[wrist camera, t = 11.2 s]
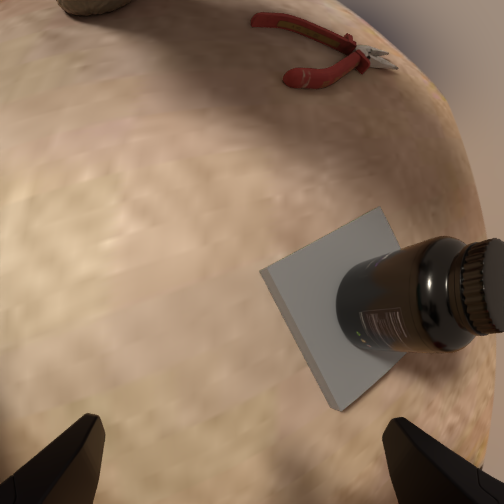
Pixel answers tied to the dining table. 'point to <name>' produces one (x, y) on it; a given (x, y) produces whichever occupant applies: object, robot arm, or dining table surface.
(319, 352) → the grey flat square slab
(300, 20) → the pliers
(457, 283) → the supplement bottle
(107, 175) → the dining table surface
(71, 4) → the lamp
